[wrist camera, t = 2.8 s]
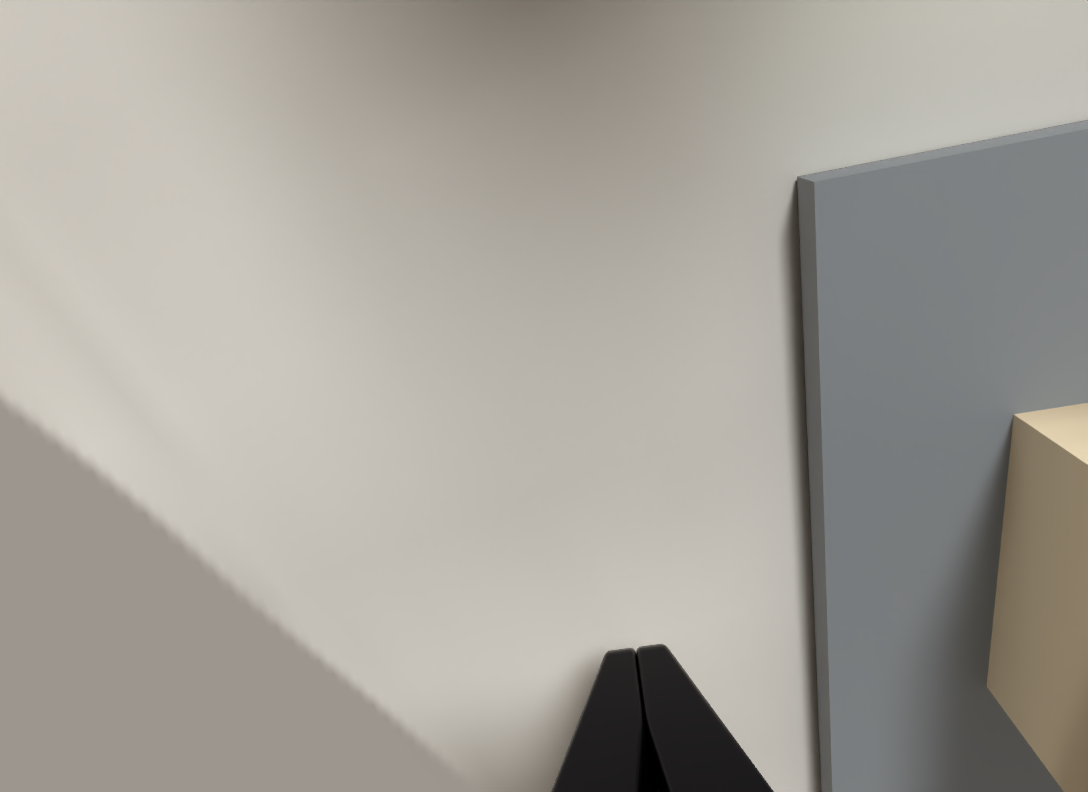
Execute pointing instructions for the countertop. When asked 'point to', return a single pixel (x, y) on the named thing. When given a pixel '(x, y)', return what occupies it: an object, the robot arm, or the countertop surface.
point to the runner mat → (930, 438)
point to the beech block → (1045, 591)
